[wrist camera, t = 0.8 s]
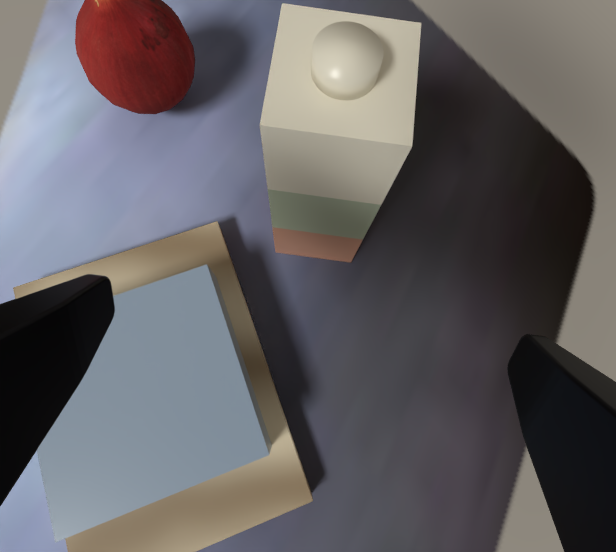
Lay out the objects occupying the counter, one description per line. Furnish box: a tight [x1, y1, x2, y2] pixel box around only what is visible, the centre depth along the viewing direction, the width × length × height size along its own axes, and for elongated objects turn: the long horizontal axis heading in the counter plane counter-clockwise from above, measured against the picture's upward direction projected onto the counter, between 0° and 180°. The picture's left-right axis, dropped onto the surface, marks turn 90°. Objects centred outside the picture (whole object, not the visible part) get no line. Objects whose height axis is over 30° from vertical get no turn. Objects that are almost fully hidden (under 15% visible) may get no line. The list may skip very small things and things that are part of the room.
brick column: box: [260, 3, 421, 263], centre depth 17 cm, size 4×4×13 cm
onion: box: [75, 0, 195, 114], centre depth 21 cm, size 6×6×8 cm
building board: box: [13, 222, 313, 552], centre depth 20 cm, size 15×11×1 cm
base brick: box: [37, 264, 272, 542], centre depth 18 cm, size 9×9×2 cm
